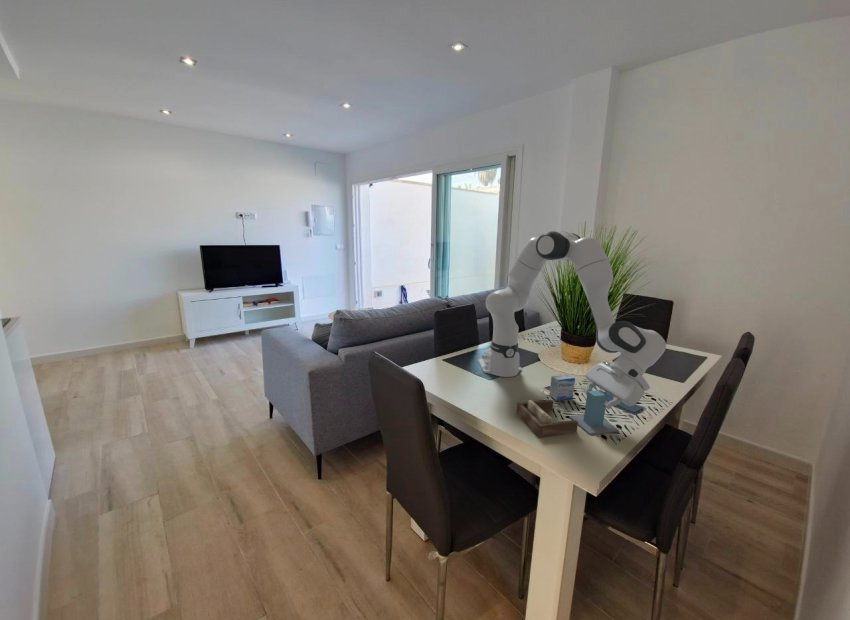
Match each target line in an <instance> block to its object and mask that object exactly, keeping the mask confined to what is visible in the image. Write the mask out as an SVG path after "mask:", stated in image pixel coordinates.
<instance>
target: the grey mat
mask: <svg viewBox="0 0 850 620" xmlns="http://www.w3.org/2000/svg"><path fill="white" fill-rule="evenodd" d="M568 418H569V419H570V421H571V420H576V421H578V426H577V427H579V428H581V429H582V430H583V431H584V432H586V433H587V434H588V435H589V436H593V435H595V436H596V435H602V434H609V433H619V432H620V429H618V428H617V427H616V426H614V425H613V424H612V423H611V422H609V421H607V420H606V419H605V418H604V421H603V425H596V426H589V425H588V424H587V423H586V422H584V421H583V419H584V413H583V414H574V415H569V416H568Z"/></svg>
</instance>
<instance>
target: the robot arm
mask: <svg viewBox="0 0 850 620" xmlns="http://www.w3.org/2000/svg"><path fill="white" fill-rule="evenodd" d="M548 261H555V262H556V261H557V262H561V261H570V262H571V263H572V264H573V267H574V270H575V272H576V275H577V277H578V279H579V281H580V284H581V286H582V288H583V291H584V293H585V296H586V298H587V302H588V305H589V309H590V312H591V314H592V317H593V320H594V324H595V328H596V333H595V342H596V343H597V346H598V347H599V348H600V350H602V351H603V352H605V353H609V354H615V353H620V354H619V356H618V357H617V358H616V359H615V360H614V361H613V362H612V363H609V362H608V361H600V362H598V363H597V364H595V365H594V366H593V367H591V368H590V369H589V370H588V371H587V372H585V375H584V376H585V378H586V379H587V380H588V383H587V388H585V390H584V391H583V392H584V393H585V395H587V392H588V391H593V390H594V389H593V388H596V387H598V388H600V390H601V391H603V392H607V393H609V394H610V395H612V396H613V397H614V398H613V400H611V401H609V402H608V401H606V402H605V403H604V404H603V405H604V406H605V407H606V409H607V410H610V409H611V408H612V407H615V405H618V404H620V403H621V402H623V403H624V404H626V405H628V406H633V405H635V404H636V405H637V403H638V402H639V401H640V400H641V399H642V398H643V397H644V395H645V392H646V391H648V390H649V389H650V388H651V386H650V384H649V383H648V381H647V380H646V379H645V378H644V376H643V375H644V374H645V373H646V370H647V369H649V368H650V367H651V366H653V365H654V364H655V363H657V361H658V360H659V359H660V358H661V357H662V355H663V354H664V352H665V351H666V348H667V342H666V339H664V337H663V336H662V335H661V334H660V333H658V332H657V331H655V330H653V329H646V328H642V327H638V326H636V325H634V324H633V323H632V322H630V321H627V320H626V321H625V320H618V321H615V320H614V315H613V313H612V310H611V306H610V303H609V301H608V300H609V299H608V297H609V292H610V289H611V285H612V284H613V281H614V273H613V268H612V266H611V263H610V261H609V258H608V256H607V254H606V252H605V250H604V249H603V247H602V246H601V244H600V242H599V241H598V240H597V239H596V238H595V237H594V236H593V237H592V236H584V237H580V236H579V235H578V234H576V233H571V232H568V231H564V230H563V231H554V230H551V231H550V230H549V231H547V232H544V233H542V234H541V235H540V236H535V237H532V238H530V239H529V240H528V241H527V242H526V243H525V244H524V246H523V247H522V249H521V250H520V252H519V253H518V256H517V257H516V259H515V261H514V263H513V265H512V266H511V268H510V270H509V272H508V276H509V281H508V284H507V286H506V287H505V288H502V289H497V290H495V291H493V292H491V293H489V294H488V295H487V297H486V299H485V308H486V309H487V311H488V312H489V313H490V315H491V318H492V323H493V324H492V325H493V326H492V327H493V329H492V331H493V333H492V339H491V340H490V347H488V348H487V349H486V350H484V351H483V354H482V356H481V358H479V359H478V361H477V362H478V363H479V366H480V368H481V370H482V372H483V373H485V374H489V375H490V374H491V375H494V376H496V377H503V378H509V377H515V376H517V375H518V374H519V373H520V372H521V371H522V367H521V366H520V353H519V352H518V351H519V343H518V340H519V329H520V328H519V327H520V326H519V325H518V324H517V322H516V320H515V312H519V311H522V310H523V309H524V308H526V307H527V306H528V305H529V303H530V300H531V297H530V293H531V290H532V287H533V285H534V283H535V281H536V280H537V278H538V276H539V274H540V272H541V271H542V269H543V267H544V266H545V264H546V262H548Z"/></svg>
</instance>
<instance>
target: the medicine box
mask: <svg viewBox="0 0 850 620" xmlns="http://www.w3.org/2000/svg"><path fill="white" fill-rule="evenodd" d="M575 383H576V378H575V377H574V376H572V374H571V375H570V374H559V375H551V377H550V385H549V386H550V389H549V396H550V397H551V398H552V399H554V400H555V401H563V400H569V399H573V398H574V392H575Z"/></svg>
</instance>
